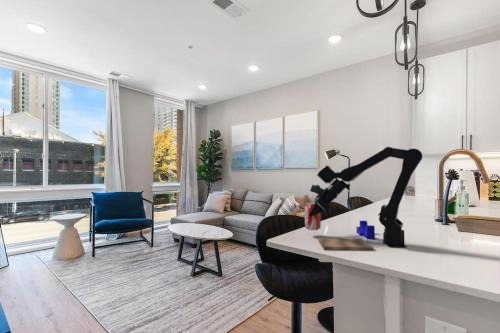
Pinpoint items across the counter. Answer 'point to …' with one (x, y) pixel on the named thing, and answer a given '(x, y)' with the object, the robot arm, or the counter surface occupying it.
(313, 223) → the soda can
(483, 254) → the counter surface
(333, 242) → the walnut board
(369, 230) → the blue stepped block
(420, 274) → the counter surface
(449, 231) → the counter surface
